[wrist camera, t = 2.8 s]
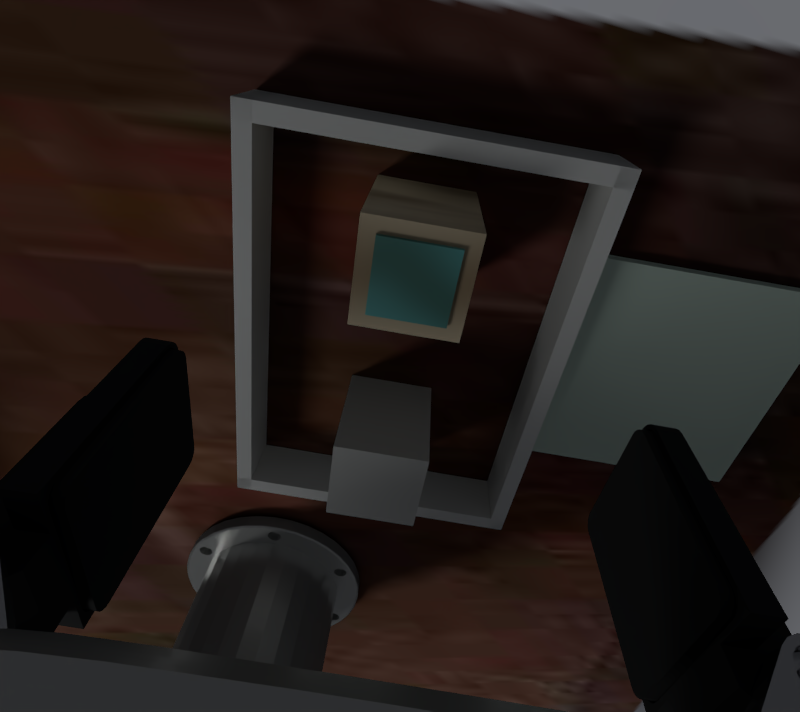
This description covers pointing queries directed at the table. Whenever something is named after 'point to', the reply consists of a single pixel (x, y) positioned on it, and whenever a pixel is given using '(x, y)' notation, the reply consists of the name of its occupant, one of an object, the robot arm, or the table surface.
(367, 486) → the plain block
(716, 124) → the table surface
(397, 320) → the labelled block
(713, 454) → the mat
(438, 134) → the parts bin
